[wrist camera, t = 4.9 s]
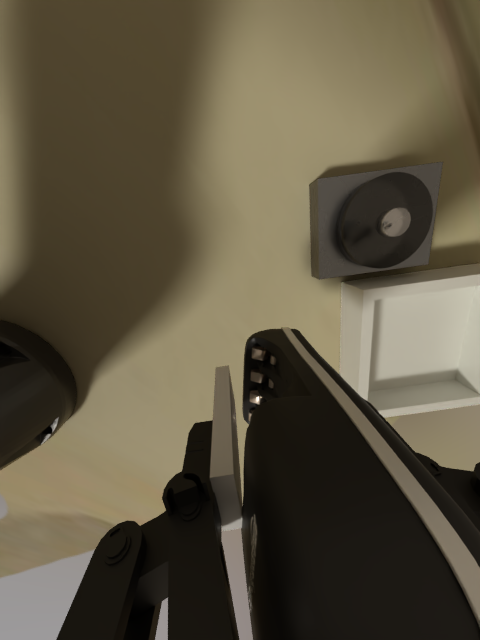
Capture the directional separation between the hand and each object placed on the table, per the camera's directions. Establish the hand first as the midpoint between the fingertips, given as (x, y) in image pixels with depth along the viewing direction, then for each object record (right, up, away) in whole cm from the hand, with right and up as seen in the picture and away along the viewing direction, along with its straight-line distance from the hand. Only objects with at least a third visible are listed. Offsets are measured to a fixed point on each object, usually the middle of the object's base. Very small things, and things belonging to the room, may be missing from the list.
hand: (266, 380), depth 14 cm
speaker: (+10, +12, +8) cm, 18 cm away
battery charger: (0, 0, +1) cm, 1 cm away
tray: (+16, +2, +12) cm, 20 cm away
